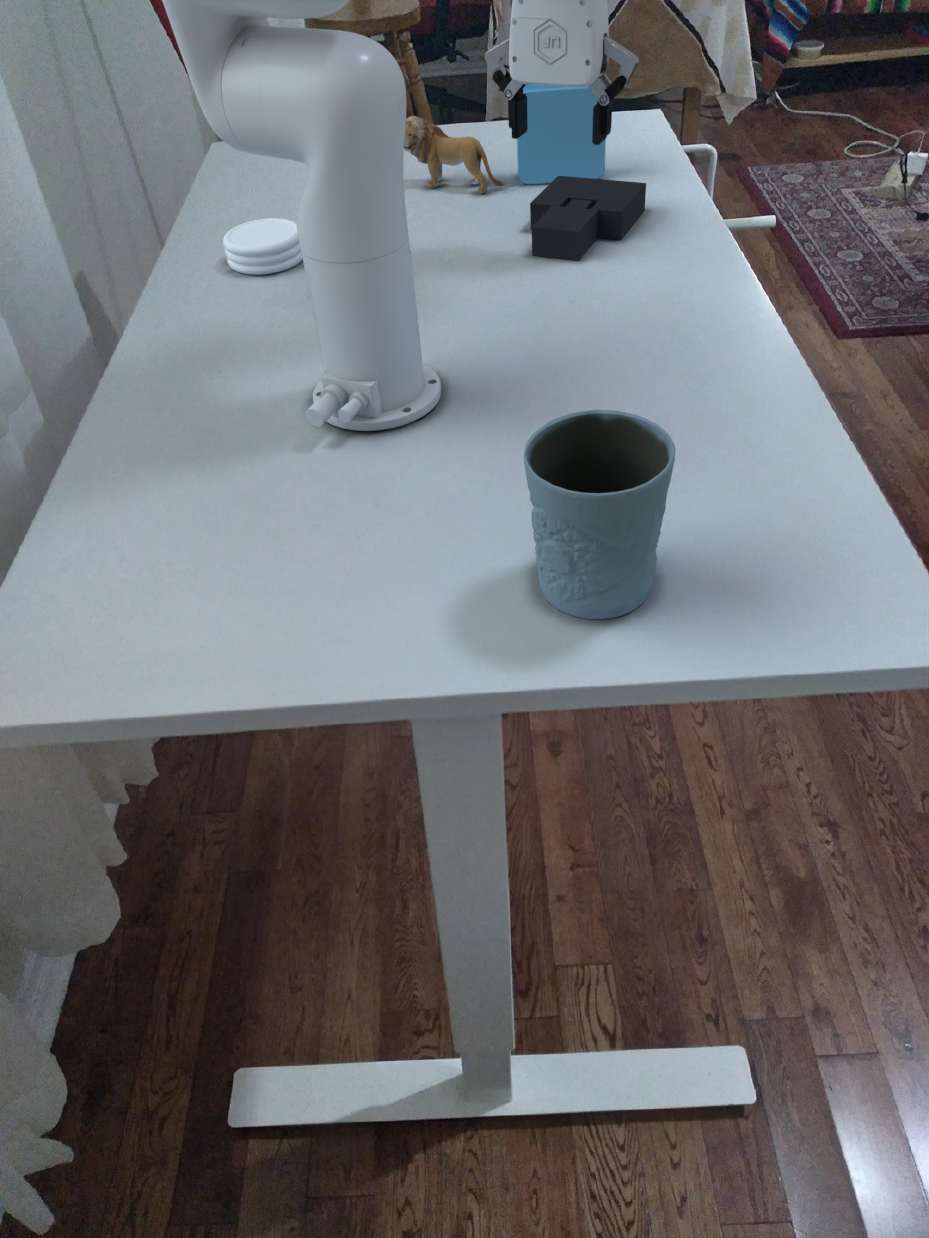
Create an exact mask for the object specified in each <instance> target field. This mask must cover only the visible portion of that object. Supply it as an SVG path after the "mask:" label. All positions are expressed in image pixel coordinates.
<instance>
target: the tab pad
mask: <svg viewBox="0 0 929 1238" xmlns="http://www.w3.org/2000/svg"><path fill="white" fill-rule="evenodd" d="M591 208H592V201H589V200H579V199H572V200H571V201H570V202H569V203H568V204H567V206H566V207H562V206H551V207H550V208H549V210H548V211H547V212H546V213H545V214H544V215H543V216H542V217H541V218H540V219H539V220H538V221H537V222H536V223H535V224H534V225H533V226H532V231H531V255H532V257H533V256H535V257H543V258H553V259H561V260H568V261H569V260H570V261H580V260H581V259H582V257H584V255H585V254H586V252H588V250H589V249H590V248H591V246H592V245H593V244H595V242H596V241H597V240H598V238H597V236H598V210H593V209H591Z"/></svg>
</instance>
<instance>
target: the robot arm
mask: <svg viewBox="0 0 929 1238" xmlns="http://www.w3.org/2000/svg"><path fill="white" fill-rule="evenodd" d="M161 1H162V4H163V7H164V10H165V12H166V16H167V18H168V21H169V24H170V26H171V31H172V32H173V35H174V39H175V40H176V41H175V42H176V43H177V47H178V49H179V52H180V55H181V58H182V61H183V63H184V66H185V69H186V72H187V75H188V77H189V80H190V82H191V86H192V89H193V91H194V94H195V96H196V97H195V98H196V99H197V101H198V104H199V106H200V109H201V111H202V113H203V116H204V117H205V119H206V121H207V123H208V124H209V126H210V128H211V130H212V131H213V132H214V133H215V134H216V135H217V137H218V138H219V139H220V140H221V141H222V142H223V143H225V144H226V145H227V146H229V147H231V148H232V149H235V150H237V151H240V152H243V153H247V154H252V155H257V156H262V157H269V158H276V159H283V160H290V161H293V162H297V163H302V164H305V165H306V166H307V170H308V172H307V173H308V174H307V179H306V183H305V186H304V189H303V191H302V194H301V196H300V199H299V201H298V205H297V210H296V223H297V230H298V237H299V242H300V248H301V252H302V257H303V260H302V262H303V267H304V273H305V278H306V283H307V288H308V295H309V299H310V305H311V309H312V316H313V321H314V326H315V332H316V337H317V342H318V343H317V344H318V349H319V353H320V358H321V359H320V360H321V364H322V369H323V374H321V376H320V380H319V381H318V382H317V383H316V385H315V387H314V388H313V391H312V402H313V404H311V405H310V406H309V407H308V408H307V409H306V410H305V412H304V419H305V420H306V422H307V423H308V424H309V425H310V426H311V427H314V428H322V426H323V425H324V424H326V423H327V424H328V423H329V424H330V425H332V426H333V427H337V428H340V429H344V430H348V431H355V432H356V431H357V432H358V431H359V432H374V431H375V432H377V431H384V430H390V429H395V428H398V427H402V426H406V425H408V424H410V423H413V422H415V421H417V420H419V419H421V418H423V417H425V416H426V415H427V414H428V413H430V412H431V411H432V410H433V409H434V408H435V407H436V406H437V404H438V403H439V401H440V400H441V397H442V383H441V378H440V376H439V374H438V373H437V372H436V371H435V370H434V369H433V368H432V367H430V366H428V365H427V364H425V363H423V354H422V353H423V352H422V346H421V345H422V344H421V337H420V327H419V318H418V309H417V300H416V292H415V291H416V290H415V280H414V271H413V270H414V269H413V262H412V253H411V245H410V235H409V229H408V217H407V208H406V197H405V179H404V155H405V153H404V152H405V150H404V138H405V125H406V119H407V106H408V105H407V103H408V101H407V88H406V81H405V78H404V74H403V71H402V69H401V67H400V65H399V63H398V61H397V60H396V58H395V57H394V56H393V55H392V53H391V52H390V51H389V50H388V49H387V48H386V47H385V46H384V45H383V44H381V43H380V42H378V41H376V40H374V39H373V38H371V37H368V36H366V35H362V34H359V33H356V32H352V31H346V30H338V29H328V28H327V29H326V28H312V27H311V28H310V27H298V26H296V27H290V26H289V27H288V26H273V25H270V23H269V20H268V19H282V20H283V19H284V20H285V19H288V20H304V19H319V18H324V17H327V16H330V15H333V14H335V13H337V12H339V11H341V9H342V8H343V7H345V6H346V5H347V4H348V2H349V1H350V0H161ZM509 23H510V24H509V38H507V39H506V40H504V41H503V42H501V43H499V44H497V45H495V46H494V47H493V48H491V49H490V50H488V51H486V52H485V53H484V60H485V62H486V64H487V67H488V70H489V72H490V73H491V74H492V80H493V82H494V83H495V84H496V86H498V88H499V89H500V90H501V92H502V93H503V97H504V100H507V114H508V115H507V116H508V117H507V119H508V120H507V121H508V128H509V129H511V139H513V140H517V139H518V138H519V137H520V136H522V135H523V134H524V133H526V132H527V129H528V122H527V96H526V94H523V89H524V88H525V86H526V85H540V86H558V87H586V86H588V87H589V89H590V90H591V92H592V93H593V95H594V96H595V98H596V99H597V104H596V105H595V106H594V108H593V132H592V143H594V145H599V144H600V143H602V142H603V141H604V140H605V139H606V140H607V138H608V136H609V135H610V134H611V131H612V122H613V121H612V119H613V100H614V99H616V97H617V96H618V95H619V94H620V93H621V92H622V91H623V90H624V89H625V88H626V87H627V86H628V85H629V83H630V80H631V78H632V76H633V75H634V73H635V71H636V70H637V69H636V68H637V67H638V65H639V62H640V58H639V56H637V54H635V53H633V52H632V51H631V50H629V49H628V48H626V47H625V46H623V45H621V44H620V43H618V42H617V41H616V40H614V39H613V38H611V37H610V27H609V9H608V0H512V2H511V12H510V22H509ZM507 55H508V69H509V71H508V70H507V68H506V67H505V64H504V62H503V59H504V57H505V56H507ZM610 60H612V61H614V62H615V63H617V64H618V65H619V66H620V67H619V68H620V69H619V71H618V74H617V76H616V78H614V80H613V81H612V82H611V80H610V78H609V76H608V75H607V74H606V73H607V72H608V69H609V61H610Z"/></svg>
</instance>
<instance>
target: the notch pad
mask: <svg viewBox="0 0 929 1238" xmlns="http://www.w3.org/2000/svg"><path fill="white" fill-rule="evenodd" d="M646 193H647V183H646V182H639V181H628V180H616V179H602V178H598V179H592V178H580V177H568V176H557V177H556V178H555V179H554V180H553V181H552V182H551V183H548V185H547V186H546V187H545V188H543V190H542V191H541V192H540V193H539V194H538V195H536V196H535V198H534V199H533V200H532V201H531V202H530V203H529V205H530V206H529V211H530V212H529V215H530V216H529V217H530V231H531V232H532V226H533V225H534V224H535V223H536V222H537V221H538V220H539V219H540V218H541V217H542V216H543V215H544V214H545V213H546V212H547V211H548V210H549V208H550V207H551V206H562V207H566V206H567V204H568V203H569V202H570V201H571V200H572V199H579V200H589V201H592V208H591V209H593V210H598V236H597V239H606V240H614V241H615V240H616V241H622V240H623V238H624V237H625V236H626V235H627V233H628V232H629V231H630V230H631V229H632V227H633V226H634V225H635V224H636V222H637V221H638V220H639V219H640V217H641V216H642V215H643V213H644V212H645V211H646V196H647V195H646Z"/></svg>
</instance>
